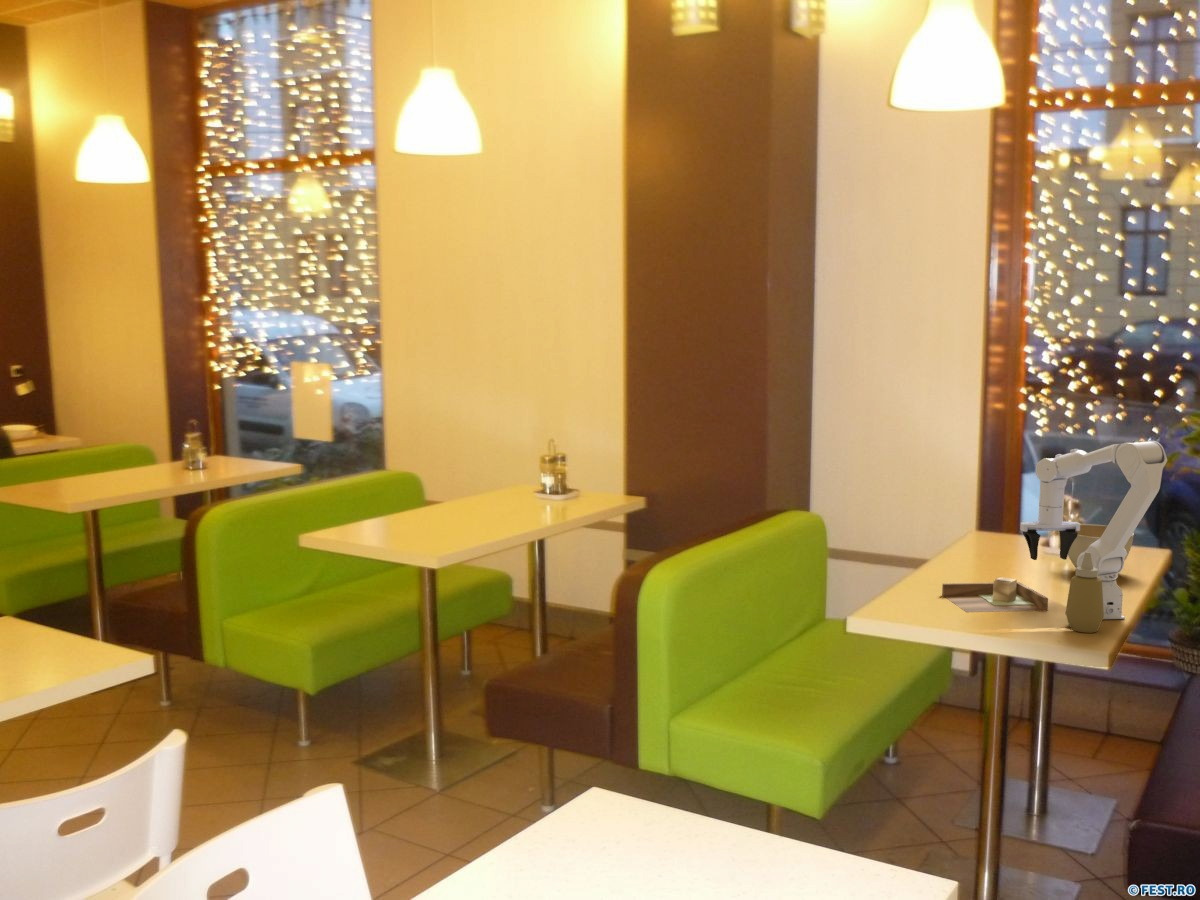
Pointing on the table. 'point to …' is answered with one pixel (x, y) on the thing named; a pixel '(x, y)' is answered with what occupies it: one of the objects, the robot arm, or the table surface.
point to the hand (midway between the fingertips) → (1048, 558)
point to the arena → (981, 598)
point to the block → (1004, 589)
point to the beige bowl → (1090, 541)
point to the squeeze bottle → (1085, 598)
